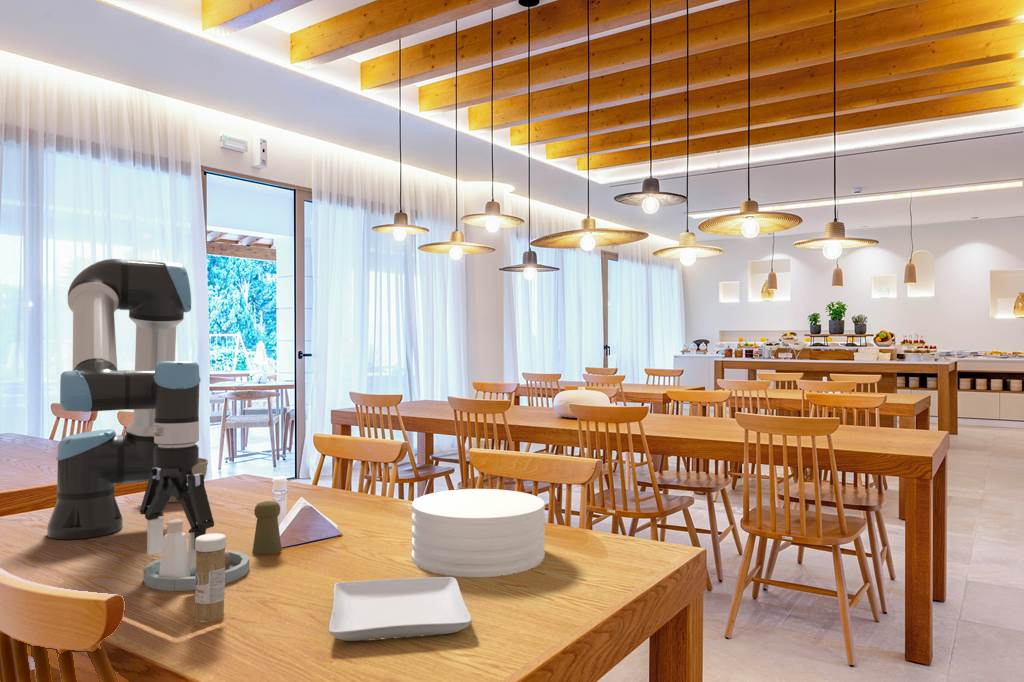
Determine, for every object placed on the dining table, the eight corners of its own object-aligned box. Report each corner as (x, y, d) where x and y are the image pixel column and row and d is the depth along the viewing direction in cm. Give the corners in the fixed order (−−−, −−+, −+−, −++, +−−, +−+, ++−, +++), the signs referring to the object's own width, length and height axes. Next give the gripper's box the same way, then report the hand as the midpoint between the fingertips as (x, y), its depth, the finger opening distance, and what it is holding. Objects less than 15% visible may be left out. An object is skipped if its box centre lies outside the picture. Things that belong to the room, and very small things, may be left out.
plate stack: (563, 547, 155) (564, 495, 155) (510, 586, 130) (510, 524, 130) (453, 533, 167) (453, 484, 167) (384, 565, 141) (385, 508, 141)
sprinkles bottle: (188, 621, 112) (189, 536, 112) (216, 612, 115) (217, 530, 115) (202, 628, 109) (203, 541, 109) (230, 619, 112) (231, 535, 112)
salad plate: (473, 641, 105) (473, 619, 105) (327, 654, 101) (328, 630, 101) (455, 593, 126) (455, 574, 126) (333, 601, 122) (333, 581, 122)
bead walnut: (202, 577, 131) (202, 555, 131) (221, 571, 135) (221, 550, 135) (214, 581, 129) (214, 559, 129) (233, 575, 132) (234, 554, 132)
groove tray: (124, 581, 130) (124, 567, 130) (212, 557, 145) (213, 545, 145) (179, 601, 120) (179, 586, 120) (268, 573, 135) (268, 560, 135)
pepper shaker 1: (197, 577, 131) (197, 518, 131) (174, 586, 126) (175, 525, 126) (174, 574, 133) (174, 516, 133) (151, 583, 127) (151, 522, 128)
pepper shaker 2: (272, 559, 145) (272, 505, 145) (245, 557, 146) (246, 504, 146) (287, 551, 150) (287, 499, 151) (261, 549, 152) (262, 498, 152)
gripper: (120, 441, 133) (119, 553, 133) (196, 453, 119) (195, 578, 119) (159, 437, 139) (158, 543, 139) (235, 448, 126) (234, 566, 125)
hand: (175, 560), depth 129 cm, fingers open, 13 cm apart
